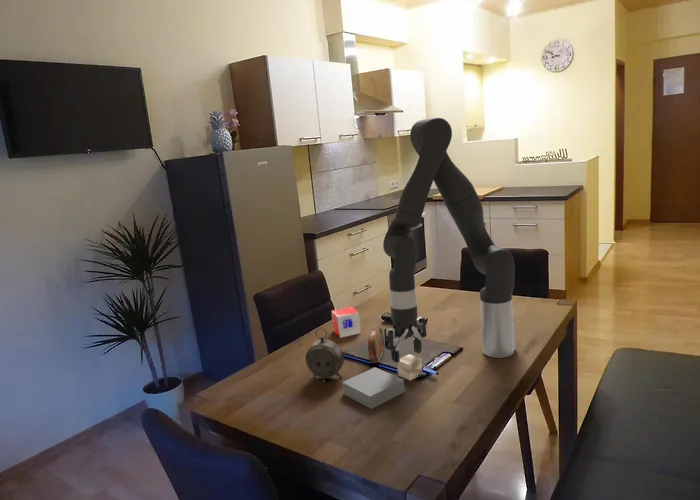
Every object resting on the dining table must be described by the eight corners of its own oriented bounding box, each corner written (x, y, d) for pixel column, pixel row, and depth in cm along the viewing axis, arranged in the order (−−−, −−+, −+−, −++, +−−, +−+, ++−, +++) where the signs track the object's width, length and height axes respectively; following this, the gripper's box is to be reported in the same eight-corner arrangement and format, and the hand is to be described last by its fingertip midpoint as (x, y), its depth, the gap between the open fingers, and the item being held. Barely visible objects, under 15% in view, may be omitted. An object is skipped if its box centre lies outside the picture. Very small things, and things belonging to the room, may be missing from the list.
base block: (376, 379, 152) (375, 367, 152) (404, 393, 143) (403, 379, 142) (343, 395, 145) (342, 382, 145) (371, 410, 136) (370, 396, 135)
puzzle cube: (353, 326, 195) (351, 306, 194) (360, 333, 188) (358, 312, 186) (333, 331, 193) (330, 310, 191) (339, 338, 186) (337, 317, 184)
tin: (378, 367, 159) (376, 341, 157) (368, 367, 160) (365, 342, 158) (385, 347, 174) (382, 323, 172) (376, 347, 174) (373, 323, 172)
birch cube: (410, 369, 156) (409, 354, 155) (422, 374, 152) (421, 358, 151) (398, 375, 153) (396, 359, 152) (410, 380, 149) (408, 364, 148)
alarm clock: (346, 376, 156) (340, 325, 152) (340, 384, 151) (334, 332, 147) (313, 374, 159) (306, 324, 156) (306, 382, 154) (299, 331, 151)
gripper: (393, 313, 141) (397, 369, 144) (430, 299, 149) (433, 352, 152) (375, 307, 146) (380, 361, 150) (412, 294, 155) (415, 346, 158)
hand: (407, 357), depth 151 cm, fingers open, 8 cm apart
